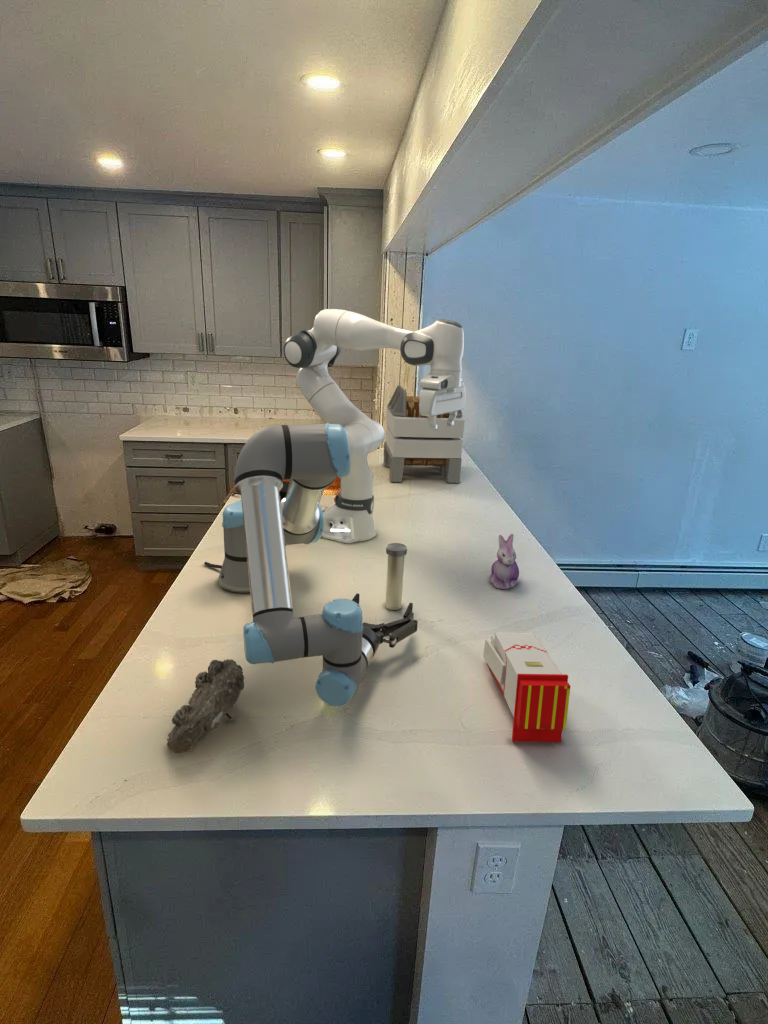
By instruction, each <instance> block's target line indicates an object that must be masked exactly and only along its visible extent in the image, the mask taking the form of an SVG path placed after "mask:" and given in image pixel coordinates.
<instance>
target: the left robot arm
mask: <svg viewBox="0 0 768 1024" xmlns="http://www.w3.org/2000/svg"><path fill="white" fill-rule="evenodd" d="M349 473H350V450H349V442H348V437H347V433H346V430H345V428H344V427H343V426H342V425H340V424H329V423H309V424H308V423H306V424H303V423H302V424H271V425H267V426H264V427H262V428H260V429H259V430H257V431H256V432H255V433H253V434H252V435H251V437H249V439H247V441H246V442H245V443H244V445H243V446H242V449H241V450H240V452H239V454H238V457H237V460H236V463H235V467H234V474H233V476H234V478H233V479H234V489H235V493H238V494H240V495H239V496H240V498H241V499H239V500H236V501H233V502H231V503H229V504H228V505H226V506H225V507H224V509H223V511H222V523H221V526H222V529H223V530H222V531H223V550H224V559H223V561H222V565H221V564H215V563H210V562H209V561H208V562H207V561H204V562H203V565H204V566H207V567H209V568H214V569H219V570H220V572H219V575H218V583H219V585H220V587H221V588H222V589H224V590H225V591H228V592H231V593H236V594H249V593H250V603H251V604H250V605H251V615H252V621H251V622H249V623H245V624H244V625H243V628H242V632H243V633H242V634H243V635H242V636H243V648H244V650H243V651H244V656H245V657H244V658H245V660H246V661H247V663H248V664H250V665H259V664H275V663H278V662H284V661H291V660H298V659H304V658H305V659H306V658H311V657H319V656H322V670H321V672H319V674H318V675H317V678H316V679H317V680H316V681H315V692H316V695H317V696H318V698H319V699H320V700H321V701H322V702H324V704H326V705H329V706H332V707H342V706H345V705H347V704H348V703H349V702H351V700H352V698H353V696H354V695H356V693H357V691H358V688H359V685H360V684H361V682H362V681H363V678H364V676H365V674H366V672H367V670H368V668H369V666H370V664H371V662H372V661H373V658H374V657H375V655H376V653H377V651H378V649H379V646H380V645H382V644H383V643H386V644H388V647H389V648H395V647H396V645H398V643H400V642H401V641H403V640H404V639H406V638H408V637H410V636H411V635H413V634H414V633H416V632H417V631H418V626H419V625H418V623H419V621H418V620H417V619H414V615H415V614H414V612H413V609H414V604H413V602H409V604H408V605H407V608H406V609H405V611H404V614H403V616H402V618H400V619H397V620H394V621H390V622H387V623H384V622H381V623H379V624H375V623H368V622H364V620H363V619H364V618H363V610H362V606H361V605H359V604H360V593H358V592H357V593H355V595H354V596H353V598H352V599H348V598H336V599H335V598H334V599H332V600H331V601H328V602H326V603H325V604H324V606H323V609H322V613H321V614H313V615H305V616H296V617H295V616H294V615H295V614H294V608H293V598H292V589H291V582H290V574H289V565H288V555H287V548H286V546H292V545H309V544H314V543H317V542H318V541H320V540H321V538H322V537H321V536H322V532H323V529H322V528H323V525H324V518H323V512H322V511H323V508H322V506H321V504H320V502H321V500H322V497H323V494H324V492H325V489H327V488H328V487H330V486H331V485H333V483H334V482H335V480H336V479H337V478H339V479H340V478H342V477H346V476H348V475H349ZM287 480H289V481H288V482H289V486H288V490H287V494H286V497H285V498H284V499H282V500H281V502H280V497H279V491H280V490H281V489H282V488H283V482H284V481H287Z"/></svg>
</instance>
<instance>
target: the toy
mask: <svg viewBox="0 0 768 1024" xmlns="http://www.w3.org/2000/svg"><path fill="white" fill-rule="evenodd" d="M482 657H483V658H484V660H485V662H486V664H487V666H488V669H489V670H490V672H491V674H492V676H493V678H494V679H495V681H496V683H497V685H498V687H499V689H500V691H501V693H502V694H503V698H504V700H505V701H506V703H507V706H508V708H509V710H510V712H511V716H512V717H513V720H512V721H513V722H512V731H511V732H512V733H511V742H513V743H514V742H517V743H518V742H519V743H520V742H521V743H523V742H525V743H527V742H528V743H529V742H530V743H562V736H563V730H566V729H567V720H568V712H569V704H570V703H569V702H570V695H571V685H570V683H569V674H564V673H562V671H561V670H560V669H559V667H558V666H557V664H556V663H555V662H554V661H555V660H553V658H552V657H551V656H550V654H549V652H548V651H547V650H546V648H545V647H544V645H543V643H542V641H541V640H540V638H538V637H537V635H536V634H535V632H494V633H493V634H491V635H490V640H489V638H485V639H484V647H483V655H482Z"/></svg>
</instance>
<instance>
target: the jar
mask: <svg viewBox="0 0 768 1024" xmlns="http://www.w3.org/2000/svg"><path fill="white" fill-rule="evenodd" d="M386 567H387V568H386V587H385V590H386V591H385V608H386V609H387V610H389V611H399V610H400V609H402V603H403V600H402V599H403V588H404V586H403V585H404V572H405V571H404V570H405V569H404V568H405V556H402V557H393V556H389V555H388V554H387V565H386Z"/></svg>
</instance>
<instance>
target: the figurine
mask: <svg viewBox="0 0 768 1024" xmlns="http://www.w3.org/2000/svg"><path fill="white" fill-rule="evenodd" d="M513 543H514V534H513V533H510V534H509V535H508V537H507V539H506V540H505V538H504V536H503V535H502V534H499V535H498V550H497V552H496V558H497V560H496V559H495V561H494V562H493V563H492V564H491V569H490V571H491V573H490V582H491V584H492V585H493V586H494V587H495V588H497V589H501V590H502V589H503V590H508V589H510V588H514V587H515V586H517V584H518V581H519V576H520V569H519V565H518V563H517V561H516V559H517V553H516V550H515V548H514V544H513Z"/></svg>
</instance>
